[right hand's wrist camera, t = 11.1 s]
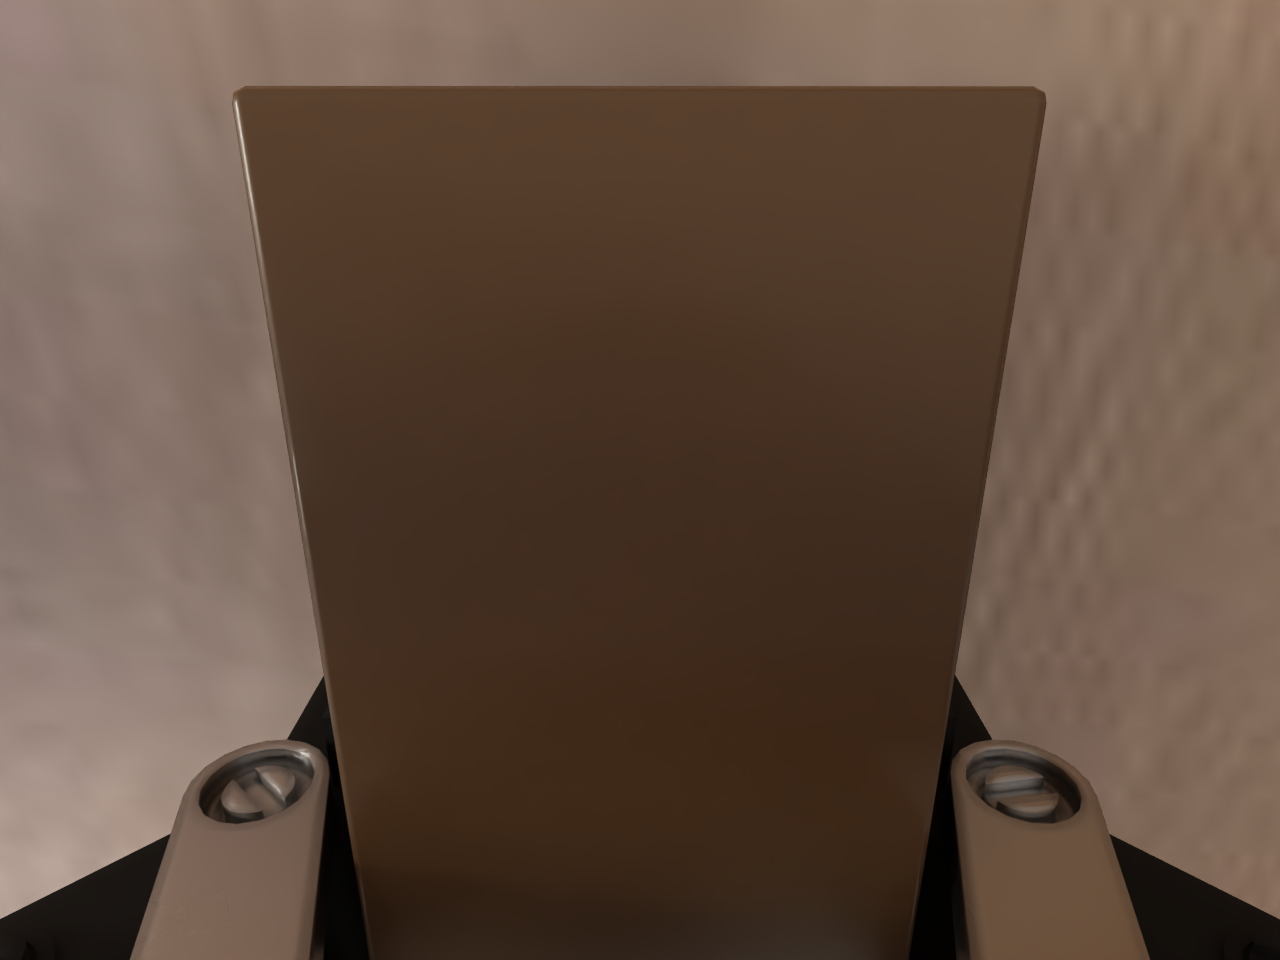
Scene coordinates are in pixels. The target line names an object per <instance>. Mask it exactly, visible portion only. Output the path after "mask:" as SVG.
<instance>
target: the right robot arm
mask: <svg viewBox="0 0 1280 960" xmlns="http://www.w3.org/2000/svg"><path fill="white" fill-rule="evenodd" d="M0 960H370V959H369V953H368V947H367V941H366V934H365V928H364V922H363V916H362V909H361V903H360V897H359V891H358V884H357V878H356V872H355V866H354V859H353V853H352V847H351V841H350V834H349V828H348V822H347V816H346V810H345V803H344V797H343V791H342V785H341V778H340V772H339V766H338V760H337V753H336V747H335V741H334V735H333V728H332V722H331V716H330V710H329V703H328V697H327V691H326V685H325V679H324V676H323V678H322V680H321V681H320V683H319V685H318V687H317V688H316V690H315V692H314V694H313V695H312V697H311V699H310V701H309V702H308V704H307V706H306V707H305V709H304V711H303V713H302V714H301V716H300V718H299V720H298V721H297V723H296V725H295V727H294V728H293V730H292V732H291V734H290V735H289V737H288V739H287V740H274V741H265V742H260V743H256V744H252V745H248V746H244V747H242V748H240V749H237V750H235V751H233V752H230V753H228V754H225V755H223V756H222V757H220V758H219V759H217V760H216V761H214V762H213V763H211V764H209V765H208V766H206V767H205V768H204V769H203V770H202V771H201V772H200V773H199V774H198V775H197V776H196V777H195V778H194V779H193V780H192V781H191V783H190V785H189V786H188V788H187V790H186V792H185V794H184V795H183V798H182V801H181V804H180V807H179V810H178V813H177V816H176V819H175V823H174V826H173V829H172V832H171V834H169V835H167V836H165V837H163V838H161V839H159V840H157V841H155V842H153V843H151V844H149V845H147V846H145V847H143V848H141V849H139V850H137V851H135V852H133V853H131V854H129V855H127V856H125V857H123V858H121V859H119V860H117V861H115V862H113V863H111V864H109V865H107V866H105V867H103V868H101V869H99V870H97V871H95V872H93V873H91V874H89V875H87V876H85V877H83V878H81V879H79V880H77V881H75V882H73V883H71V884H69V885H67V886H65V887H63V888H61V889H60V890H58V891H56V892H54V893H52V894H50V895H48V896H46V897H44V898H42V899H40V900H38V901H36V902H34V903H32V904H30V905H28V906H26V907H24V908H22V909H20V910H18V911H16V912H14V913H12V914H10V915H8V916H6V917H4V918H2V919H0ZM909 960H1280V919H1278V918H1276V917H1274V916H1272V915H1270V914H1268V913H1266V912H1264V911H1262V910H1260V909H1258V908H1256V907H1254V906H1252V905H1250V904H1248V903H1246V902H1244V901H1242V900H1240V899H1238V898H1236V897H1234V896H1232V895H1230V894H1228V893H1226V892H1224V891H1222V890H1220V889H1218V888H1216V887H1214V886H1212V885H1210V884H1208V883H1206V882H1204V881H1202V880H1200V879H1198V878H1196V877H1194V876H1192V875H1190V874H1188V873H1186V872H1184V871H1182V870H1180V869H1178V868H1176V867H1174V866H1172V865H1170V864H1168V863H1166V862H1164V861H1162V860H1160V859H1158V858H1156V857H1154V856H1152V855H1150V854H1148V853H1146V852H1144V851H1142V850H1140V849H1138V848H1136V847H1134V846H1132V845H1130V844H1128V843H1126V842H1124V841H1122V840H1120V839H1118V838H1116V837H1114V836H1112V835H1110V834H1109V832H1108V829H1107V826H1106V823H1105V819H1104V816H1103V813H1102V810H1101V807H1100V804H1099V801H1098V798H1097V795H1096V794H1095V792H1094V790H1093V788H1092V786H1091V785H1090V783H1089V781H1088V780H1087V779H1086V778H1085V777H1084V776H1083V775H1082V774H1081V773H1080V772H1079V771H1078V770H1077V769H1076V768H1075V767H1074V766H1072V765H1071V764H1069V763H1067V762H1066V761H1064V760H1063V759H1061V758H1060V757H1058V756H1057V755H1055V754H1052V753H1050V752H1047V751H1045V750H1043V749H1040V748H1038V747H1036V746H1032V745H1028V744H1024V743H1020V742H1015V741H1006V740H992V738H991V737H990V735H989V733H988V731H987V730H986V728H985V726H984V724H983V723H982V721H981V719H980V717H979V716H978V714H977V712H976V710H975V709H974V707H973V705H972V704H971V702H970V700H969V698H968V697H967V695H966V693H965V691H964V690H963V688H962V686H961V684H960V683H959V681H958V679H957V677H956V676H954V682H953V689H952V695H951V701H950V707H949V713H948V720H947V726H946V732H945V738H944V745H943V751H942V757H941V763H940V770H939V776H938V782H937V788H936V794H935V801H934V807H933V813H932V819H931V826H930V832H929V838H928V844H927V850H926V857H925V863H924V869H923V875H922V882H921V888H920V894H919V900H918V907H917V913H916V919H915V925H914V931H913V938H912V944H911V950H910V956H909Z"/></svg>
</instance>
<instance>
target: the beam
mask: <svg viewBox="0 0 1280 960" xmlns="http://www.w3.org/2000/svg"><path fill="white" fill-rule="evenodd" d="M232 105H233V111H234V117H235V123H236V130H237V136H238V142H239V148H240V155H241V161H242V167H243V173H244V180H245V186H246V192H247V198H248V205H249V211H250V217H251V223H252V229H253V236H254V242H255V248H256V254H257V261H258V267H259V273H260V279H261V286H262V292H263V298H264V304H265V311H266V317H267V323H268V329H269V335H270V342H271V348H272V354H273V360H274V367H275V373H276V379H277V385H278V392H279V398H280V404H281V410H282V417H283V423H284V429H285V435H286V442H287V448H288V454H289V460H290V466H291V473H292V479H293V485H294V491H295V498H296V504H297V510H298V516H299V523H300V529H301V535H302V541H303V548H304V554H305V560H306V566H307V573H308V579H309V585H310V591H311V597H312V604H313V610H314V616H315V622H316V629H317V635H318V641H319V647H320V654H321V660H322V666H323V672H324V679H325V685H326V691H327V697H328V703H329V710H330V716H331V722H332V728H333V735H334V741H335V747H336V753H337V760H338V766H339V772H340V778H341V785H342V791H343V797H344V803H345V810H346V816H347V822H348V828H349V834H350V841H351V847H352V853H353V859H354V866H355V872H356V878H357V884H358V891H359V897H360V903H361V909H362V916H363V922H364V928H365V934H366V941H367V947H368V953H369V959H370V960H909V956H910V950H911V944H912V938H913V931H914V925H915V919H916V913H917V907H918V900H919V894H920V888H921V882H922V875H923V869H924V863H925V857H926V850H927V844H928V838H929V832H930V826H931V819H932V813H933V807H934V801H935V794H936V788H937V782H938V776H939V770H940V763H941V757H942V751H943V745H944V738H945V732H946V726H947V720H948V713H949V707H950V701H951V695H952V689H953V682H954V676H955V670H956V664H957V657H958V651H959V645H960V639H961V632H962V626H963V620H964V614H965V608H966V601H967V595H968V589H969V583H970V576H971V570H972V564H973V558H974V551H975V545H976V539H977V533H978V527H979V520H980V514H981V508H982V502H983V495H984V489H985V483H986V477H987V470H988V464H989V458H990V452H991V446H992V439H993V433H994V427H995V421H996V414H997V408H998V402H999V396H1000V389H1001V383H1002V377H1003V371H1004V365H1005V358H1006V352H1007V346H1008V340H1009V333H1010V327H1011V321H1012V315H1013V308H1014V302H1015V296H1016V290H1017V284H1018V277H1019V271H1020V265H1021V259H1022V252H1023V246H1024V240H1025V234H1026V227H1027V221H1028V215H1029V209H1030V203H1031V196H1032V190H1033V184H1034V178H1035V171H1036V165H1037V159H1038V153H1039V147H1040V140H1041V134H1042V128H1043V122H1044V115H1045V109H1046V97H1045V93H1044V92H1043V91H1041V90H1039V89H1037V88H1035V87H905V86H245V87H243V88H241V89H239V90H237V91H235V92H234V94H233V102H232Z"/></svg>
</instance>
